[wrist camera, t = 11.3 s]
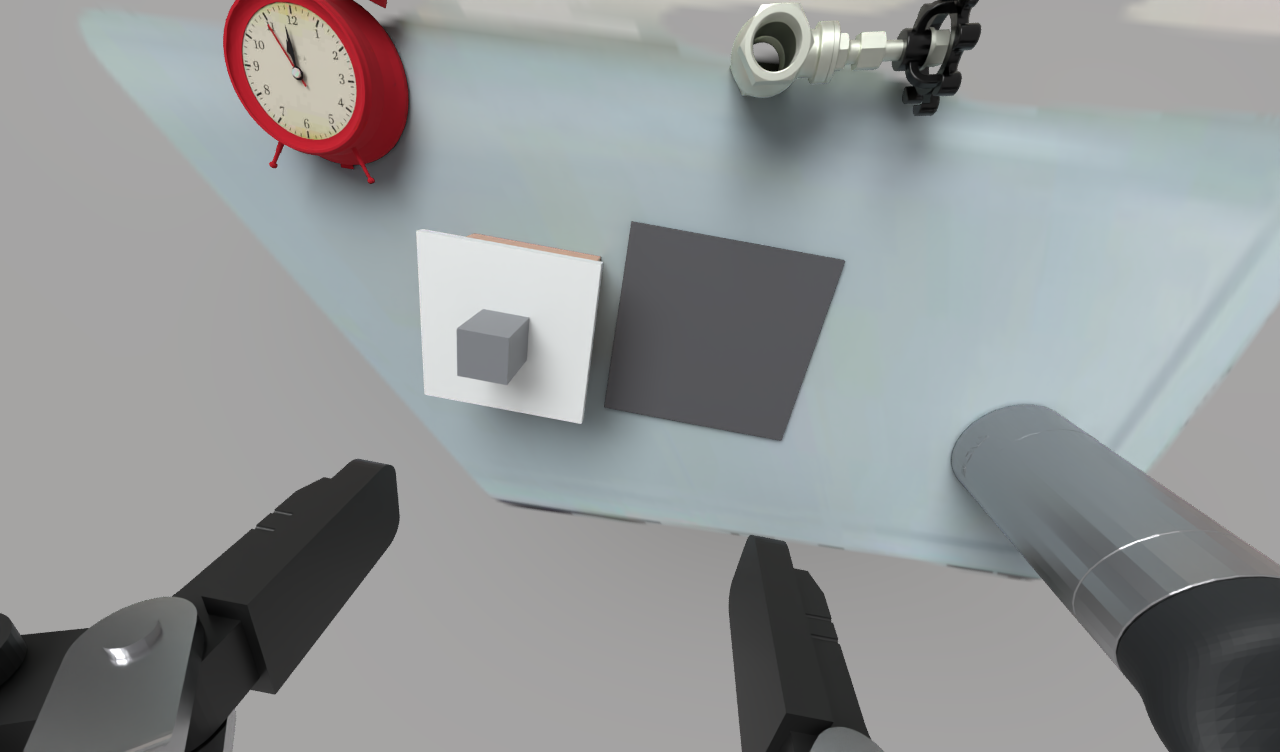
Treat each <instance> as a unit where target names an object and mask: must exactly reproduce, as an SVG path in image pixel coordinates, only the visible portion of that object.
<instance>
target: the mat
mask: <svg viewBox="0 0 1280 752" xmlns="http://www.w3.org/2000/svg"><path fill="white" fill-rule="evenodd" d="M844 263H845V261H844V260H841V259H835V258H830V257H825V256H819V255H814V254H808V253H803V252H797V251H792V250H786V249H781V248H775V247H770V246H764V245H759V244H753V243H748V242H742V241H737V240H731V239H726V238H720V237H715V236H710V235H704V234H699V233H693V232H688V231H682V230H677V229H671V228H666V227H660V226H655V225H649V224H644V223H638V222H633V221H632V222H631V228H630V235H629V242H628V249H627V256H626V262H625V269H624V276H623V283H622V290H621V296H620V303H619V310H618V317H617V323H616V330H615V337H614V344H613V351H612V357H611V364H610V371H609V378H608V385H607V391H606V398H605V405H604V407H605V408H610V409H616V410H621V411H626V412H632V413H637V414H642V415H648V416H653V417H658V418H664V419H669V420H674V421H679V422H685V423H690V424H695V425H701V426H706V427H711V428H717V429H722V430H727V431H733V432H738V433H743V434H749V435H754V436H759V437H765V438H770V439H775V440H782V438H783V435H784V432H785V429H786V426H787V423H788V421H789V418H790V415H791V412H792V409H793V407H794V404H795V401H796V398H797V395H798V393H799V390H800V387H801V384H802V381H803V378H804V376H805V373H806V370H807V367H808V364H809V362H810V359H811V356H812V353H813V350H814V348H815V345H816V342H817V339H818V336H819V334H820V331H821V328H822V325H823V322H824V319H825V317H826V314H827V311H828V308H829V305H830V303H831V300H832V297H833V294H834V291H835V289H836V286H837V283H838V280H839V277H840V275H841V272H842V269H843V266H844Z"/></svg>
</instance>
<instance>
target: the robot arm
mask: <svg viewBox="0 0 1280 752" xmlns="http://www.w3.org/2000/svg"><path fill="white" fill-rule="evenodd" d="M952 468H953V471H954V473H955V475H956V477H957V478H958V479H959V480H960V482H961V483H962V484H963V485H964V486H965V488H966V489H967V490H968V491H969V492H970V494H971V495H972V496H973V497H974V498H975V500H976V501H977V502H978V503H979V504H980V506H981V507H982V508H983V509H984V511H985V512H986V513H987V514H988V515H989V517H990V518H991V519H992V520H993V521H994V522H995V524H996V525H997V526H998V527H999V528H1000V530H1001V531H1002V532H1003V533H1004V534H1005V535H1006V537H1007V538H1008V539H1009V540H1010V541H1011V543H1012V544H1013V545H1014V546H1015V547H1016V548H1017V550H1018V551H1019V552H1020V553H1021V554H1022V556H1023V557H1024V558H1025V559H1026V560H1027V561H1028V563H1029V564H1030V565H1031V566H1032V567H1033V568H1034V570H1035V571H1036V572H1037V573H1038V574H1039V576H1040V577H1041V578H1042V579H1043V580H1044V581H1045V583H1046V584H1047V585H1048V586H1049V587H1050V589H1051V590H1052V591H1053V592H1054V593H1055V594H1056V596H1057V597H1058V598H1059V599H1060V600H1061V602H1063V604H1064V605H1065V606H1066V607H1067V609H1068V610H1069V611H1070V612H1071V613H1072V615H1073V616H1074V617H1075V618H1076V619H1077V620H1078V622H1079V623H1080V624H1081V625H1082V626H1083V627H1084V628H1085V630H1086V631H1087V632H1088V633H1089V634H1090V635H1091V637H1092V638H1093V639H1094V640H1095V641H1096V642H1097V644H1099V646H1100V647H1101V648H1102V649H1103V651H1104V652H1105V653H1106V654H1107V655H1108V656H1109V658H1110V659H1111V660H1112V661H1113V663H1114V664H1115V665H1116V666H1117V667H1118V668H1119V670H1120V671H1121V672H1122V673H1123V674H1124V675H1125V676H1126V678H1127V679H1128V680H1129V681H1130V682H1131V684H1132V685H1133V686H1134V687H1135V689H1136V690H1137V691H1138V693H1139V694H1140V696H1141V697H1142V699H1143V702H1144V704H1145V707H1146V710H1147V713H1148V716H1149V718H1150V720H1151V723H1152V725H1153V726H1154V729H1155V731H1156V732H1157V734H1158V736H1159V738H1160V739H1161V741H1162V742H1163V744H1164V745H1165V747H1166V748H1167V749H1168V751H1169V752H1280V565H1279V564H1277V563H1276V562H1274V561H1273V560H1272V559H1270V558H1269V557H1267V556H1266V555H1264V554H1263V553H1261V552H1260V551H1258V550H1257V549H1255V548H1254V547H1253V546H1250V544H1248V543H1246V542H1245V541H1243V540H1242V539H1240V538H1239V537H1237V536H1236V535H1235V534H1233V533H1231V532H1230V531H1229V530H1227V529H1226V528H1224V527H1223V526H1221V525H1220V524H1219V523H1217V522H1216V521H1214V520H1212V519H1211V518H1210V517H1208V516H1207V515H1205V514H1204V513H1202V512H1201V511H1199V510H1198V509H1197V508H1195V507H1194V506H1192V505H1191V504H1189V503H1188V502H1186V501H1185V500H1183V499H1182V498H1181V497H1179V496H1178V495H1176V494H1175V493H1173V492H1172V491H1170V490H1169V489H1167V488H1166V487H1165V486H1163V485H1161V484H1160V483H1159V482H1157V481H1156V480H1154V479H1153V478H1151V477H1150V476H1148V475H1147V474H1146V473H1144V472H1143V471H1141V470H1140V469H1138V468H1137V467H1135V466H1134V465H1132V464H1131V463H1130V462H1128V461H1127V460H1125V459H1124V458H1122V457H1121V456H1119V455H1118V454H1116V453H1115V452H1113V451H1112V450H1111V449H1109V448H1108V447H1106V446H1105V445H1103V444H1102V443H1100V442H1099V441H1098V440H1096V439H1095V438H1093V437H1092V436H1090V435H1089V434H1088V433H1086V432H1085V431H1083V430H1082V429H1080V428H1079V427H1077V426H1076V425H1074V424H1073V423H1071V422H1070V421H1069V420H1067V419H1066V418H1064V417H1063V416H1061V415H1060V414H1058V413H1057V412H1055V411H1053V410H1051V409H1049V408H1046V407H1043V406H1037V405H1015V406H1008V407H1005V408H1001V409H998V410H995V411H993V412H991V413H989V414H987V415H985V416H983V417H981V418H980V419H978V420H977V421H975V422H974V423H973V424H971V425H970V426H969V427H968V428H967V429H966V430H965V431H964V432H963V433H962V435H961V436H960V438H959V439H958V441H957V442H956V445H955V447H954V449H953V453H952ZM399 518H400V517H399V505H398V493H397V483H396V472H395V469H394V467H393V466H391V465H388V464H382V463H378V462H372V461H367V460H362V459H355V460H353V461H351V462H350V463H348V464H347V465H346V466H345V467H344V468H343V469H342V470H340V472H338V473H337V474H336V475H335V476H334V477H333V478H332V479H330V478H322V479H320V480H318V481H316V482H314V483H312V484H310V485H308V486H306V487H303V488H301V489H300V490H298V491H296V492H295V493H293V494H292V495H291V496H290V497H289V498H288V499H286V500H285V501H284V502H283V503H282V504H281V505H279V506H278V507H277V508H276V509H275V511H274V513H273V514H272V513H270V514H269V515H268V516H267V517H265V518H264V519H263V520H262V521H261V522H260V523H258V524H257V526H256V528H255V529H251V530H250V531H249V532H248V533H247V534H245V535H244V536H243V537H242V538H241V539H240V540H238V541H237V542H236V543H235V544H234V545H232V546H231V547H230V548H229V549H228V550H227V551H225V552H224V553H223V554H222V555H221V556H220V557H218V558H217V559H216V560H215V561H214V562H212V563H211V564H210V565H209V566H208V567H207V568H205V569H204V570H203V571H202V572H201V573H200V574H199V575H197V576H196V577H195V578H194V579H193V580H191V581H190V582H189V583H188V584H187V585H186V586H184V587H183V588H182V589H181V590H180V591H178V592H177V593H176V594H174V595H173V596H172V597H159V598H154V599H149V600H145V601H141V602H138V603H135V604H132V605H130V606H128V607H125V608H122V609H120V610H118V611H116V612H114V613H112V614H111V615H109V616H107V617H105V618H103V619H102V620H100V621H99V622H97V623H96V624H94V625H93V626H92V627H90V628H85V629H76V630H66V631H56V632H46V633H36V634H27V635H20V634H19V632H18V631H17V629H16V628H15V626H14V625H13V623H12V622H11V620H10V619H9V618H8V617H7V616H5V615H4V614H1V613H0V752H232V749H233V740H234V732H235V722H236V711H235V707H236V706H237V705H238V704H239V703H240V701H241V700H242V699H243V698H244V696H245V695H246V694H247V693H248V692H249V690H255V691H260V692H265V693H270V694H276V693H277V692H278V690H279V689H280V688H281V686H282V685H283V684H284V683H285V681H286V680H287V679H288V677H289V676H290V674H291V673H292V672H293V671H294V669H295V668H296V667H297V665H298V664H299V663H300V662H301V660H302V659H303V658H304V656H305V655H306V654H307V652H308V651H309V650H310V649H311V647H312V646H313V645H314V643H315V642H316V641H317V640H318V638H319V637H320V636H321V634H322V633H323V632H324V630H325V629H326V628H327V626H328V625H329V624H330V623H331V621H332V620H333V619H334V617H335V616H336V615H337V613H338V612H339V611H340V610H341V608H342V607H343V606H344V604H345V603H346V602H347V600H348V599H349V598H350V597H351V595H352V594H353V593H354V591H355V590H356V589H357V587H358V586H359V585H360V583H361V582H362V581H363V580H364V578H365V577H366V576H367V574H368V573H369V572H370V570H371V569H372V568H373V567H374V565H375V564H376V563H377V561H378V560H379V559H380V557H381V556H382V555H383V553H384V552H385V551H386V550H387V548H388V547H389V546H390V544H391V542H392V541H393V539H394V537H395V534H396V532H397V529H398V525H399ZM729 618H730V628H731V640H732V649H733V661H734V672H735V682H736V692H737V704H738V714H739V724H740V734H741V735H740V736H741V746H742V752H884V751H883V750H882V749H881V748H880V747H879V746H878V745H877V744H876V743H875V742H873V741H872V740H871V738H870V736H869V734H868V731H867V728H866V726H865V723H864V720H863V716H862V713H861V710H860V707H859V704H858V700H857V697H856V694H855V691H854V688H853V685H852V681H851V678H850V675H849V672H848V669H847V666H846V663H845V659H844V656H843V653H842V650H841V647H840V644H838V637H837V634H836V631H835V628H834V625H833V623H831V615H830V612H829V609H828V606H827V603H826V599H825V596H824V593H823V592H822V591H821V589H820V588H819V586H818V585H817V584H816V582H815V581H814V579H813V578H812V577H811V575H810V574H809V572H808V571H804V570H799V569H794V568H793V564H792V561H791V557H790V553H789V549H788V546H787V544H786V542H784V541H781V540H775V539H770V538H765V537H760V536H754V535H750V536H749V537H748V539H747V541H746V544H745V547H744V549H743V552H742V555H741V558H740V561H739V563H738V566H737V569H736V572H735V575H734V578H733V580H732V584H731V588H730V595H729Z"/></svg>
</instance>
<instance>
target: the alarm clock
mask: <svg viewBox="0 0 1280 752" xmlns="http://www.w3.org/2000/svg"><path fill="white" fill-rule="evenodd" d="M370 1H372V2H374V3H375V4H378V5H379V6H381V7H384V8H386V4H387V0H370ZM223 48H224V57H225V62H226V67H227V71H228V74H229V77H230V80H231V82H232V85H233V87H234V90H235V92H236V93H237V95H238V97H239V99H240V101H241V102H242V104H243V106H244V107H245V109H246V110H247V111H248V113H249V114H250V116H251V117H252V118H253V119H254V120H255V121H256V122H257V124H258V125H259V126H260V127H261V128H262V129H263V130H265V131H266V132H267V133H268V134H269V135H271V136H272V137H273V138H274V139H276V140H278V141H279V142H278V145H277V148H276V153H275V156H274V159H273V161H272V162H270V163H269V165H270V167H272V168H277V164H276V162H277V160H278V157H279V155H280V153H281V151H282V149H283V146H284V145H286V146H288V147H290V148H293V149H295V150H297V151H300V152H302V153H307V154H311V155H318V156H320V157H322V158H324V159H326V160H329V161H332V162H335V163H340V164H341V167H342V168H348V169H353V165H359V164H360V165H361V167H362V168H363V170H364V172H365V174H366V176H367V177H368V180H367V181H368V183H370V184H372V183H374V182H375V180H374V178H371V177H370V175H369V173H368V171H367V168H366V166H365V164H366V163H370V162H373V161H375V160H378V159H380V158H381V157H383V156H384V155H386V154H387V153H388V152H389V151H390V150H391V149H392V148H393V147H394V146H395V144H396V143H397V142H398V140H399V138H400V136H401V134H402V132H403V130H404V127H405V124H406V119H407V114H408V87H407V80H406V76H405V72H404V69H403V65H402V62H401V60H400V57H399V55H398V53H397V50H396V48H395V46H394V44H393V43H392V41H391V39H390V38H389V36H388V34H387V33H386V32H385V30H384V29H383V27H382V26H381V25H380V24H379V23H378V21H377V20H376V19H375V18H374V17H373V16H372V15H371V14H370V13H369V12H368V11H366V10H365V9H364V8H363V7H362V6H361V5H359V4H358V3H356V2H355V1H353V0H236V1H235V2H234V4H233V5H232V7H231V9H230V11H229V13H228V16H227V19H226V23H225V28H224V36H223Z"/></svg>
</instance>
